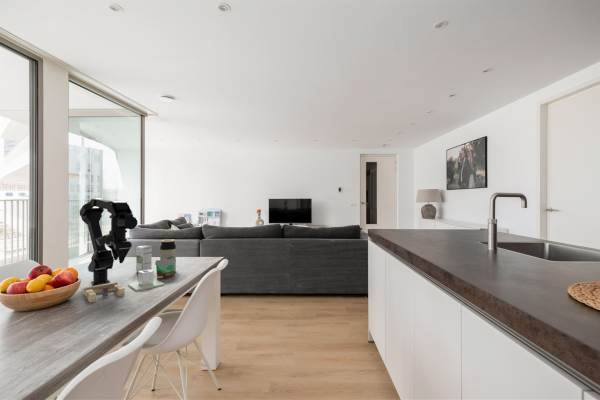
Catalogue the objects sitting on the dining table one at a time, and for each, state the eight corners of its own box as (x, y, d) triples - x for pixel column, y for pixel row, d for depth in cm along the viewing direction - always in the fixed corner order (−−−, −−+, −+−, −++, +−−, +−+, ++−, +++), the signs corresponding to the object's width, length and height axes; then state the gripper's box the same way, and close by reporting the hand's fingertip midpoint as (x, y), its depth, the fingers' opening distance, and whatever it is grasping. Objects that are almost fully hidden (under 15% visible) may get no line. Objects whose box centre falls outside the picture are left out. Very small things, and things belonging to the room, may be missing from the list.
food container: (165, 280, 140) (165, 261, 140) (155, 280, 141) (155, 260, 141) (180, 274, 152) (180, 256, 152) (170, 273, 153) (171, 255, 153)
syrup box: (152, 270, 159) (152, 245, 159) (142, 273, 154) (142, 247, 154) (145, 269, 162) (145, 244, 162) (135, 272, 156) (135, 246, 156)
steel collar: (138, 283, 132) (138, 271, 132) (149, 281, 136) (149, 269, 136) (142, 286, 129) (142, 273, 129) (153, 283, 132) (153, 271, 132)
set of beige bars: (83, 294, 119) (83, 285, 119) (116, 288, 128) (116, 279, 128) (89, 302, 110) (89, 292, 110) (124, 295, 119) (124, 285, 119)
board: (128, 285, 132) (128, 283, 132) (155, 280, 141) (155, 278, 141) (136, 291, 124) (136, 289, 124) (164, 285, 132) (164, 283, 132)
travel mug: (160, 274, 151) (160, 241, 151) (160, 271, 158) (160, 239, 159) (176, 272, 155) (176, 240, 155) (175, 269, 162) (175, 238, 162)
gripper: (93, 227, 130) (92, 261, 130) (102, 231, 117) (102, 268, 117) (120, 226, 138) (120, 257, 138) (132, 229, 125) (132, 263, 125)
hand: (118, 261), depth 129 cm, fingers open, 9 cm apart
